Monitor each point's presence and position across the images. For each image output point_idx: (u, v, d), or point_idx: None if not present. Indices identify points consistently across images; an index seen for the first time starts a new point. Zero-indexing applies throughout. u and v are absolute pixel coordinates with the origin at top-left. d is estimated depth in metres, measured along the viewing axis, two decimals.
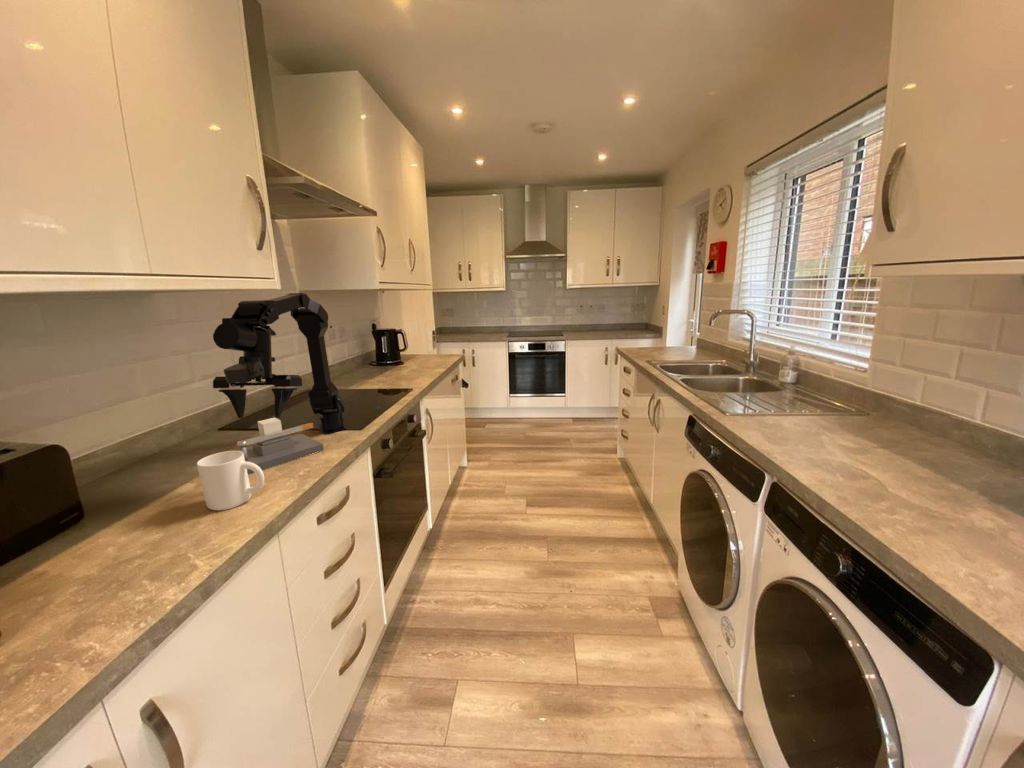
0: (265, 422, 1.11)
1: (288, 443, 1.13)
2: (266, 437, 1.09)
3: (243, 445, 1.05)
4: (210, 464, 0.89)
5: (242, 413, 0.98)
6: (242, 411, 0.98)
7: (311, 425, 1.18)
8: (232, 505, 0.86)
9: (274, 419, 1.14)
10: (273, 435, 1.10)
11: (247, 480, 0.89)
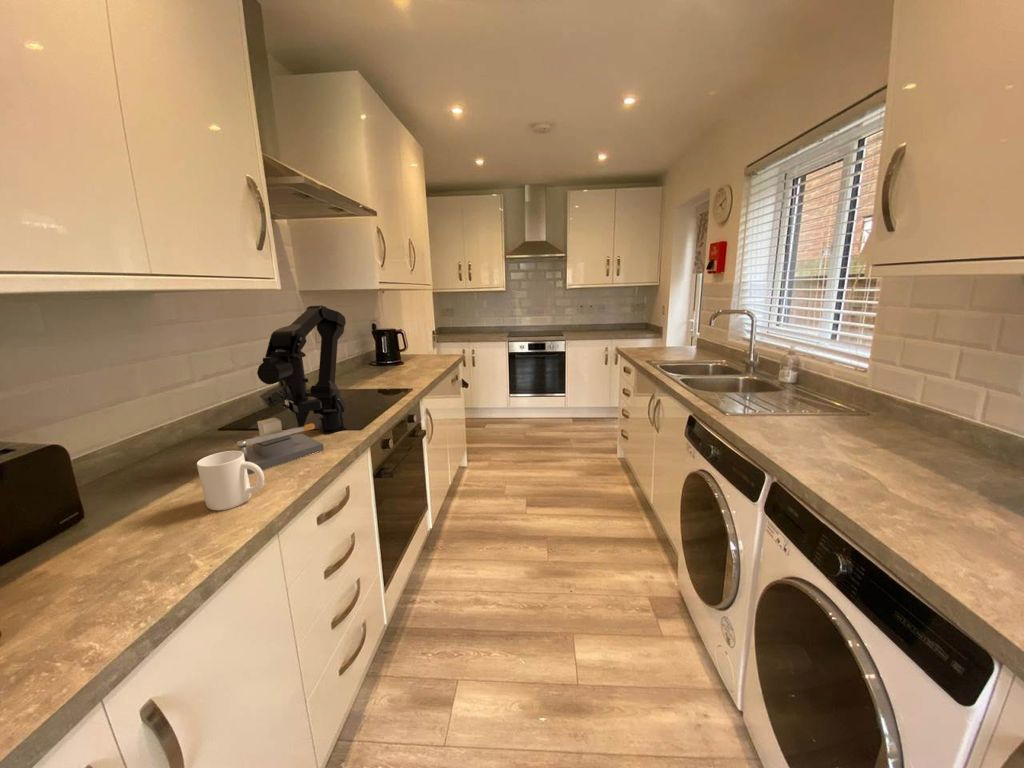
0: (265, 422, 1.11)
1: (288, 443, 1.13)
2: (266, 437, 1.09)
3: (243, 445, 1.05)
4: (210, 464, 0.89)
5: (302, 424, 1.16)
6: (302, 423, 1.16)
7: (312, 426, 1.17)
8: (232, 505, 0.86)
9: (274, 419, 1.14)
10: (273, 435, 1.10)
11: (247, 480, 0.89)
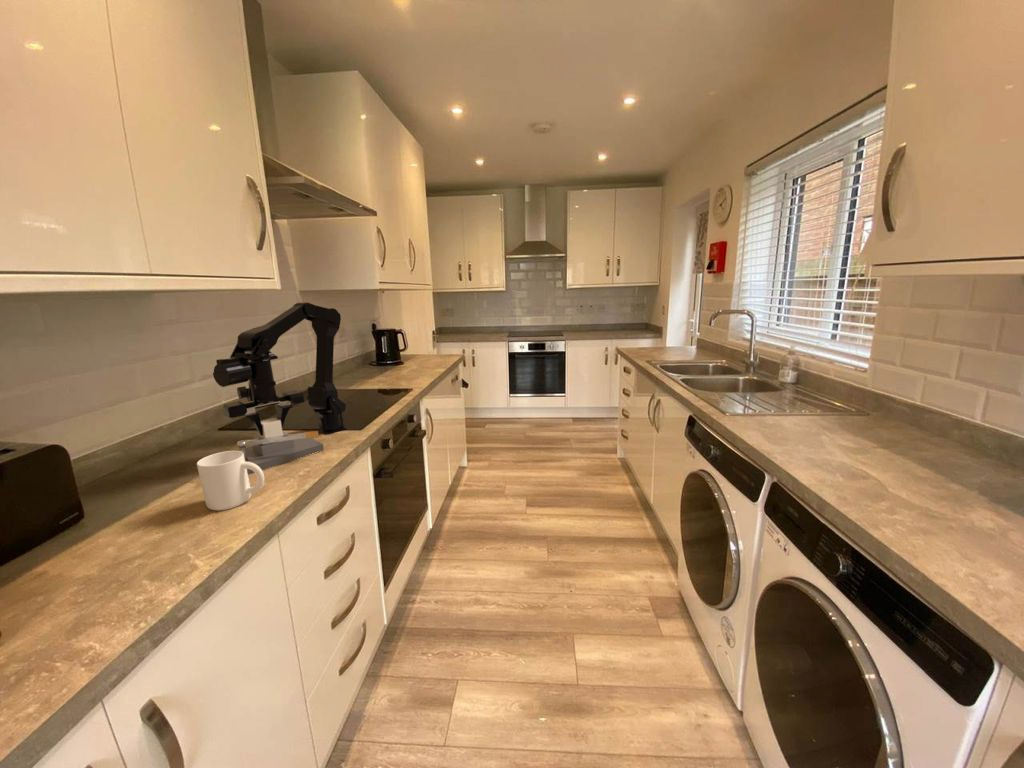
0: (265, 422, 1.11)
1: (288, 443, 1.13)
2: (265, 440, 1.07)
3: (241, 445, 1.04)
4: (210, 464, 0.89)
5: None
6: None
7: (315, 434, 1.10)
8: (232, 505, 0.86)
9: (274, 419, 1.14)
10: (273, 439, 1.07)
11: (247, 480, 0.89)
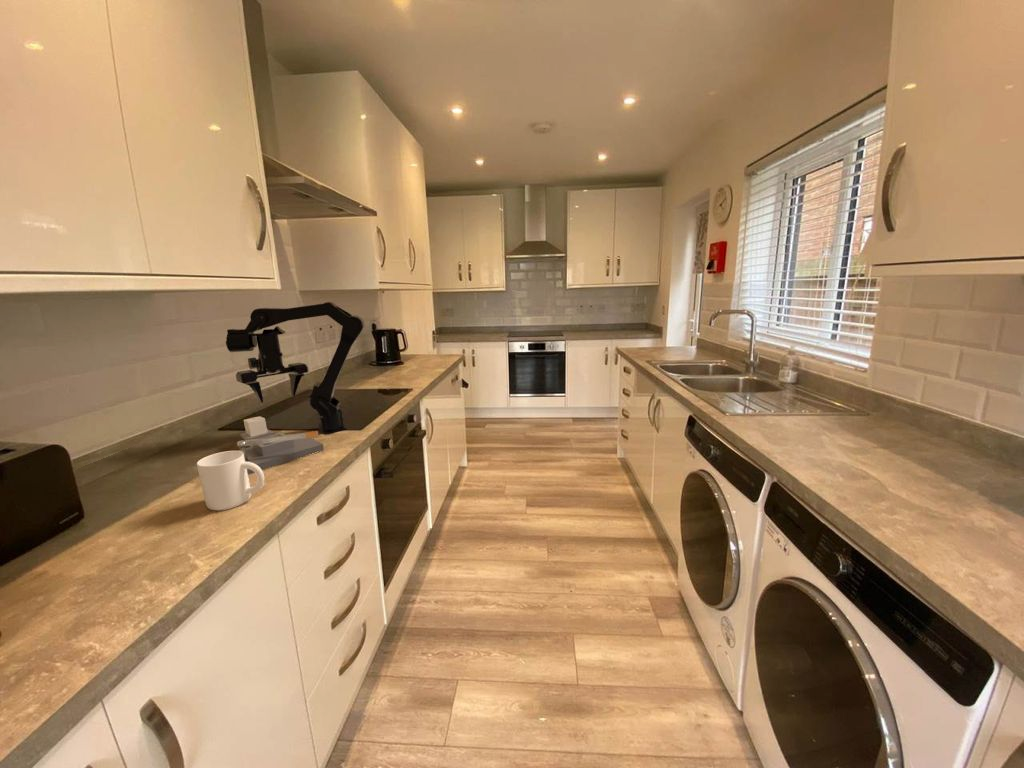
0: (250, 420, 1.20)
1: (288, 443, 1.13)
2: (265, 440, 1.07)
3: (241, 445, 1.04)
4: (210, 464, 0.89)
5: (292, 392, 1.30)
6: (292, 391, 1.30)
7: (315, 434, 1.10)
8: (232, 505, 0.86)
9: (259, 417, 1.22)
10: (273, 439, 1.07)
11: (247, 480, 0.89)
